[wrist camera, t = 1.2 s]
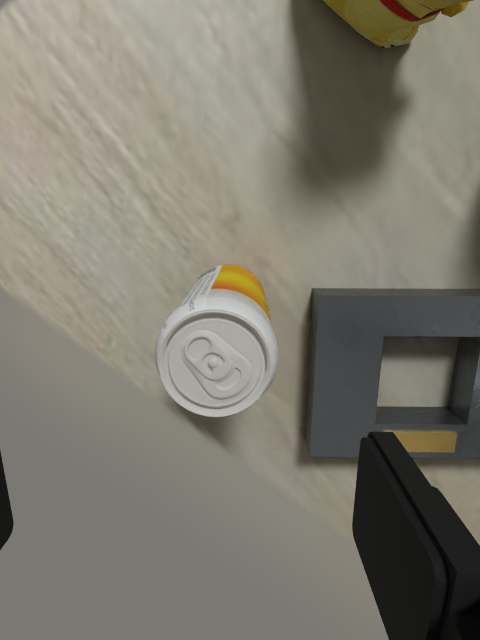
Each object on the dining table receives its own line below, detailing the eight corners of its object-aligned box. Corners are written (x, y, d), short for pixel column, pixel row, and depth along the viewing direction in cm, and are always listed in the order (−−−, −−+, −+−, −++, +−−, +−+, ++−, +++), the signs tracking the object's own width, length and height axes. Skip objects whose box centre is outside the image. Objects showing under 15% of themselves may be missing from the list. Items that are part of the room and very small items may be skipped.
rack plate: (530, 289, 31) (561, 297, 28) (500, 439, 35) (524, 460, 32) (312, 288, 32) (319, 295, 29) (304, 437, 35) (310, 458, 32)
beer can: (225, 347, 33) (210, 447, 19) (177, 296, 32) (121, 359, 18) (279, 303, 32) (307, 372, 18) (231, 248, 31) (219, 273, 16)
